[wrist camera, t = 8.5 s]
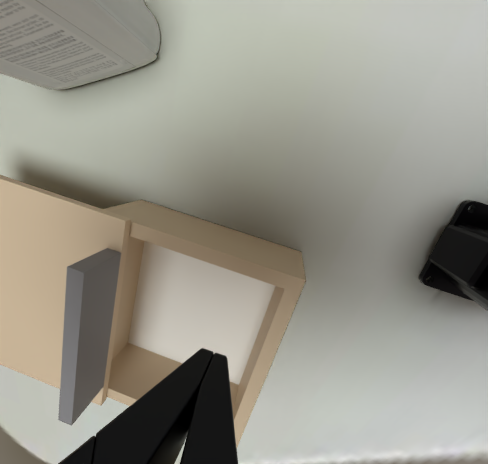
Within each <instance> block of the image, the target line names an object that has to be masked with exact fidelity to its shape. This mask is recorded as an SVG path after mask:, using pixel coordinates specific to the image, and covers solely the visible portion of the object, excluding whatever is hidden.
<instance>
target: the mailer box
mask: <svg viewBox="0 0 488 464" xmlns="http://www.w3.org/2000/svg"><path fill="white" fill-rule="evenodd" d="M103 210H106V211H109V212H112V213H115V214H118V215H121V216H124V217H127V218H130V219H131V226H130V233H129V240H128V247H127V254H126V262H125V269H124V276H123V283H122V290H121V297H120V304H119V312H118V319H117V326H116V333H115V340H114V347H113V354H112V362H111V369H110V376H109V383H108V390H107V397H109V398H111V399H114V400H116V401H119V402H121V403H124V404H126V405H129V406H131V405H132V404H133V403H134V402H136V401H137V400H138V399H139V398H141V397H142V396H143V395H144V394H145V393H147V392H148V391H149V390H150V389H152V388H153V387H154V386H155V385H157V384H158V383H159V382H160V381H161V380H163V379H164V378H165V377H166V376H168V375H169V374H170V373H171V372H173V371H174V370H175V369H176V368H177V367H179V366H180V365H181V364H182V363H184V362H185V361H186V360H187V359H189V358H190V357H191V356H192V355H193V354H195V353H196V352H197V351H198V350H200V349H201V348H205V349H207V350H210V351H213V353H219V354H222V355H225V356H226V357H227V360H228V369H229V379H230V389H231V399H232V409H233V419H234V429H235V438H236V448H237V446H238V444H239V442H240V439H241V437H242V434H243V432H244V429H245V427H246V425H247V422H248V420H249V417H250V415H251V413H252V410H253V408H254V405H255V403H256V400H257V398H258V396H259V393H260V391H261V388H262V386H263V384H264V381H265V379H266V376H267V374H268V371H269V369H270V367H271V364H272V362H273V359H274V357H275V355H276V352H277V350H278V347H279V345H280V342H281V340H282V338H283V335H284V333H285V330H286V328H287V326H288V323H289V321H290V318H291V316H292V313H293V311H294V309H295V306H296V304H297V301H298V299H299V297H300V294H301V292H302V289H303V287H304V284H305V282H306V277H305V271H304V265H303V259H302V253H301V252H300V251H297V250H294V249H291V248H288V247H285V246H282V245H279V244H276V243H273V242H270V241H266V240H263V239H260V238H257V237H254V236H251V235H248V234H245V233H242V232H239V231H236V230H233V229H230V228H227V227H224V226H221V225H218V224H215V223H212V222H209V221H205V220H202V219H199V218H196V217H193V216H190V215H187V214H184V213H181V212H178V211H175V210H172V209H169V208H166V207H163V206H160V205H157V204H154V203H151V202H147V201H144V200H138V201H134V202H130V203H126V204H122V205H118V206H114V207H109V208H105V209H103Z"/></svg>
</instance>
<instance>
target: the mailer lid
mask: <svg viewBox="0 0 488 464" xmlns="http://www.w3.org/2000/svg"><path fill="white" fill-rule="evenodd" d="M130 226H131V219H130V218H127V217H124V216H121V215H118V214H115V213H112V212H109V211H106V210H103V209H100V208H97V207H94V206H91V205H88V204H86V203H83V202H80V201H77V200H74V199H71V198H68V197H65V196H62V195H59V194H56V193H53V192H50V191H47V190H44V189H41V188H38V187H35V186H32V185H29V184H26V183H23V182H20V181H17V180H14V179H11V178H8V177H5V176H2V175H0V365H3V366H5V367H8V368H10V369H13V370H15V371H17V372H20V373H22V374H25V375H27V376H30V377H32V378H35V379H37V380H39V381H42V382H44V383H47V384H49V385H52V386H54V387H57V388H59V389H60V401H59V419H58V420H60V421H62V422H64V423H67V424H69V425H72V424H73V423H74V422H75V421H76V419H77V418H78V417H79V416H80V415H81V413H82V412H83V411H84V410H85V409H86V407H87V406H88V405H89V404H90V402H93V403H96V404H98V405H102V404H103V403H104V401H105V400H106V397H107V390H108V383H109V376H110V369H111V362H112V354H113V347H114V340H115V333H116V326H117V319H118V312H119V304H120V297H121V290H122V283H123V276H124V269H125V262H126V254H127V247H128V240H129V233H130Z"/></svg>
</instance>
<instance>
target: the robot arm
mask: <svg viewBox="0 0 488 464" xmlns="http://www.w3.org/2000/svg"><path fill="white" fill-rule="evenodd" d="M471 205H472V209H471V210H470V211H468V207H469V206H471ZM429 276H431V277H430V279H429V280H426V278H427V277H429ZM419 279H420V281H421V282H422V283H423V284H425V285H427V286H430V287H433V288H436V289H439V290H442V291H445V292H448V293H451V294H454V295H457V296H460V297H464V298H467V299H470V300H473V301H475V302H477V303H478V304H479V305H481V306H482V307H484V308H485V309H486V310H488V205H486V204H483V203H479V202H476V201H469V200H468V201H465V202H463V203H462V204H461V205H460V207H459V209H458V210H457V212H456V214H455V215H454V217H453V219H452V221H451V222H450V224H449V226H448V227H446V229H445V230H444V232H443V234H442V236H441V237H440V239H439V241H438V243H437V244H436V246H435V248H434V249H433V251H432V253H431V255H430V256H429V260H428V262H427V264H426V266H425V267H424V269H423V271H422V272H421V274H420V277H419ZM186 437H187V438H186ZM185 439H186V442H185V446H184V450H183V454H182V458H181V462H180V464H238V458H237V448H236V438H235V429H234V419H233V409H232V399H231V389H230V379H229V369H228V360H227V357H226V356H225V355H222V354H219V353H213V351H210V350H207V349H205V348H201V349H200V350H198V351H197V352H196V353H195V354H193V355H192V356H191V357H190V358H189V359H187V360H186V361H185V362H184V363H182V364H181V365H180V366H179V367H177V368H176V369H175V370H174V371H173V372H171V373H170V374H169V375H168V376H166V377H165V378H164V379H163V380H161V381H160V382H159V383H158V384H157V385H155V386H154V387H153V388H152V389H150V390H149V391H148V392H147V393H145V394H144V395H143V396H142V397H141V398H139V399H138V400H137V401H136V402H134V403H133V404H132V405H131V406H130V407H128V408H127V409H126V410H125V411H123V412H122V413H121V414H120V415H118V416H117V417H116V418H115V419H114V420H112V421H111V422H110V423H109V424H107V425H106V426H105V427H104V428H102V429H101V430H100V431H99V432H98V433H97V434H96V437H95V436H92V437H91V438H90V439H89V440H87V441H86V442H85V443H84V444H83V445H81V446H80V447H79V448H78V449H76V450H75V451H74V452H73V453H71V454H70V455H69V456H67V457H66V458H65V459H64V460H62V461H61V462H60V463H58V464H174V463H175V461H176V459H177V457H178V455H179V452H180V450H181V448H182V446H183V444H184V441H185Z"/></svg>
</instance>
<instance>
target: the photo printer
mask: <svg viewBox="0 0 488 464" xmlns="http://www.w3.org/2000/svg"><path fill="white" fill-rule="evenodd" d="M159 46H160V31H159V27H158V23H157V21H156V19H155V17H154V15H153V14H152V12H151V11H150V10H149V9H148V8H147V6H146V5H145V2H144V0H0V73H1V74H4V75H7V76H10V77H13V78H16V79H19V80H22V81H25V82H28V83H31V84H34V85H37V86H40V87H44V88H47V89H68V88H72V87H76V86H80V85H84V84H87V83H91V82H94V81H98V80H101V79H104V78H108V77H111V76H114V75H118V74H121V73H124V72H128V71H131V70H133V69H136V68H139V67H141V66H144V65H146V64H148V63H150V62H152V61H154V60H155V59H156V58H157V55H156V53H157V52H158V50H159Z"/></svg>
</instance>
